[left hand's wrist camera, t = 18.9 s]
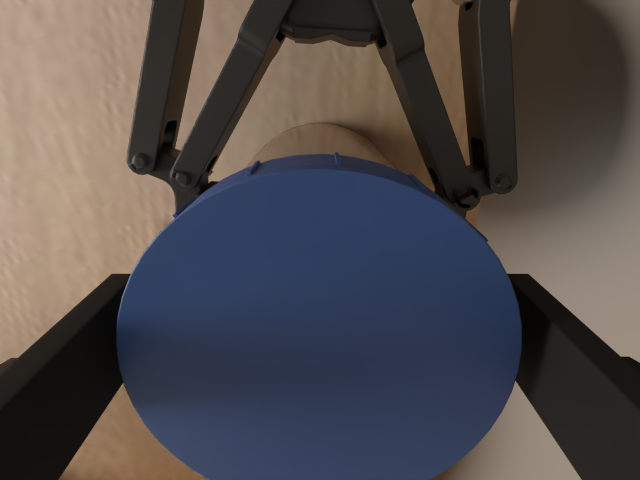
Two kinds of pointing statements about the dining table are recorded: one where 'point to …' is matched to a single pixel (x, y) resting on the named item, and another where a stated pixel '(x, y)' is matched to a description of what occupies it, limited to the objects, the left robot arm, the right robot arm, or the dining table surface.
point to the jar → (320, 144)
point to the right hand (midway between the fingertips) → (315, 311)
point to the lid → (319, 327)
